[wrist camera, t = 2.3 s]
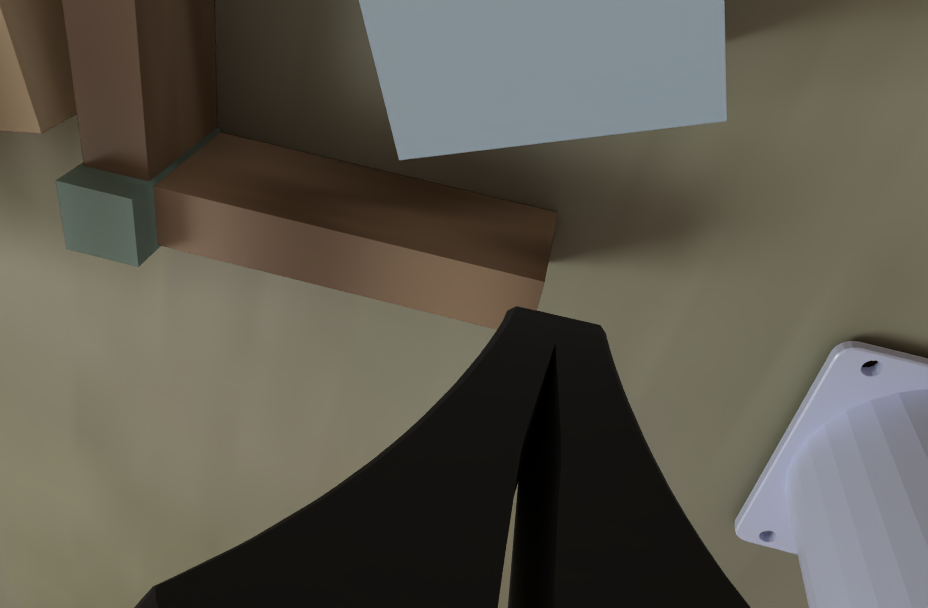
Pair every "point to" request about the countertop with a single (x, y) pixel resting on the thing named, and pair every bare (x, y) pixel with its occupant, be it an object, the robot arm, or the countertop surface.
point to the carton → (543, 69)
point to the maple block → (34, 66)
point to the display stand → (267, 183)
